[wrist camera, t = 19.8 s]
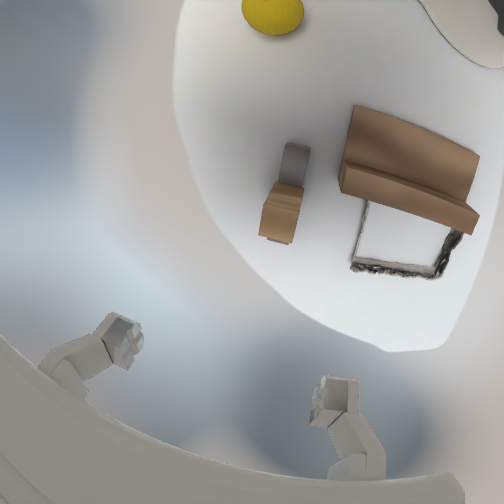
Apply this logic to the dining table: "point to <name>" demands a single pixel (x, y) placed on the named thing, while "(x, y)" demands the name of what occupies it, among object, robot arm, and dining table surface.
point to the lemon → (273, 15)
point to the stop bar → (408, 169)
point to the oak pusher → (285, 196)
